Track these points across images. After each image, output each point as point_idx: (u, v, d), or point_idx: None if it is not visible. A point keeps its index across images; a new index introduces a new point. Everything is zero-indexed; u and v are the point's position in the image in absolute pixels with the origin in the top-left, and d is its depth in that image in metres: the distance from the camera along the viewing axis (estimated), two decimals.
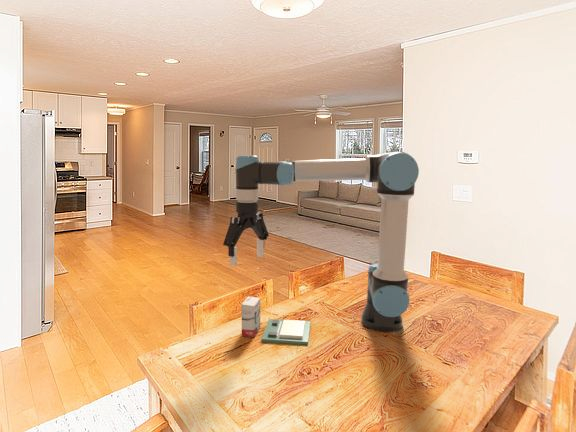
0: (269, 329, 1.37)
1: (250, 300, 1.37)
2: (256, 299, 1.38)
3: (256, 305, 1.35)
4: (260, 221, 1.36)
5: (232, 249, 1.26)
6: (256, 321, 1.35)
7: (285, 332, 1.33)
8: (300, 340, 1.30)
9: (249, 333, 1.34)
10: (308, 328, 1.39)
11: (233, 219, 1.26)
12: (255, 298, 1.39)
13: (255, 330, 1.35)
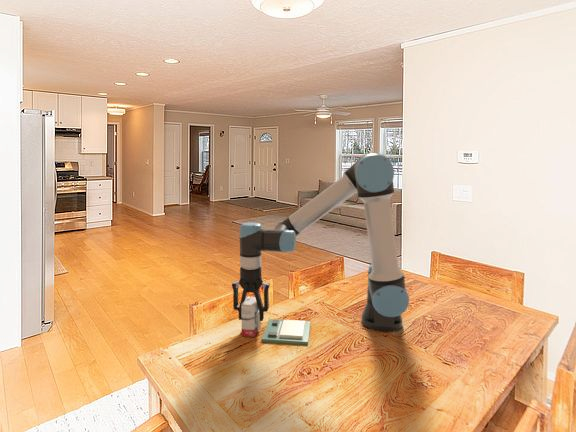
0: (269, 329, 1.37)
1: (250, 300, 1.37)
2: None
3: (256, 305, 1.35)
4: (264, 292, 1.35)
5: (240, 313, 1.37)
6: (256, 321, 1.35)
7: (285, 332, 1.33)
8: (300, 340, 1.30)
9: (249, 333, 1.34)
10: (308, 328, 1.39)
11: None
12: (255, 298, 1.39)
13: (255, 330, 1.35)
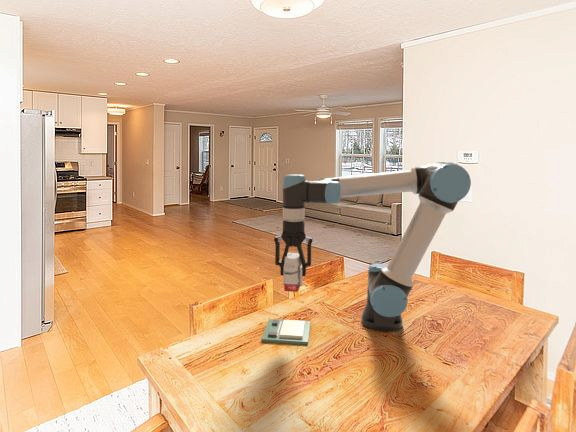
0: (269, 329, 1.37)
1: (292, 255, 1.33)
2: (298, 254, 1.35)
3: (299, 259, 1.31)
4: None
5: (281, 268, 1.33)
6: (298, 276, 1.32)
7: (285, 332, 1.33)
8: (300, 340, 1.30)
9: (292, 287, 1.30)
10: (308, 328, 1.39)
11: None
12: (296, 253, 1.36)
13: (298, 285, 1.32)
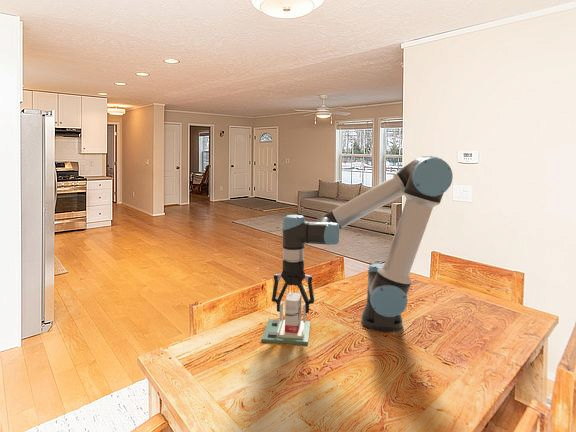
0: (269, 329, 1.37)
1: (292, 296, 1.36)
2: (298, 295, 1.37)
3: (299, 301, 1.34)
4: (308, 284, 1.33)
5: (278, 305, 1.36)
6: (299, 317, 1.34)
7: (285, 332, 1.33)
8: (300, 340, 1.30)
9: (292, 329, 1.33)
10: (308, 328, 1.39)
11: None
12: (297, 294, 1.38)
13: (298, 326, 1.34)
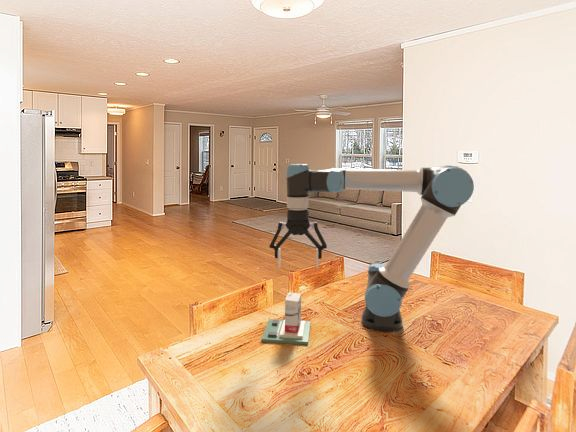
0: (269, 329, 1.37)
1: (292, 296, 1.36)
2: (298, 295, 1.37)
3: (299, 301, 1.34)
4: (315, 231, 1.33)
5: (276, 251, 1.35)
6: (299, 317, 1.34)
7: (285, 332, 1.33)
8: (300, 340, 1.30)
9: (292, 329, 1.33)
10: (308, 328, 1.39)
11: (278, 224, 1.34)
12: (296, 294, 1.38)
13: (298, 326, 1.34)
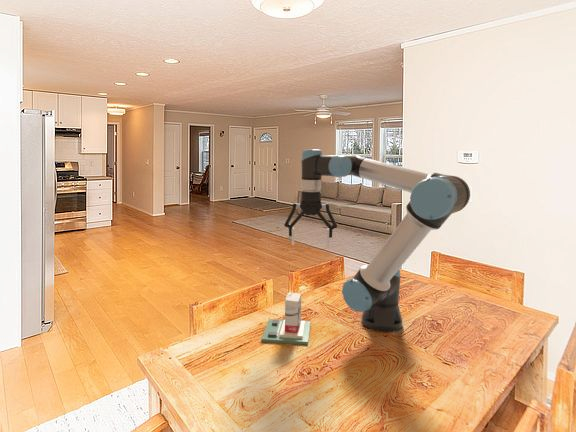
0: (269, 329, 1.37)
1: (292, 296, 1.36)
2: (298, 295, 1.37)
3: (299, 301, 1.34)
4: None
5: (290, 230, 1.47)
6: (299, 317, 1.34)
7: (285, 332, 1.33)
8: (300, 340, 1.30)
9: (292, 329, 1.33)
10: (308, 328, 1.39)
11: (293, 204, 1.46)
12: (296, 294, 1.38)
13: (298, 326, 1.34)
